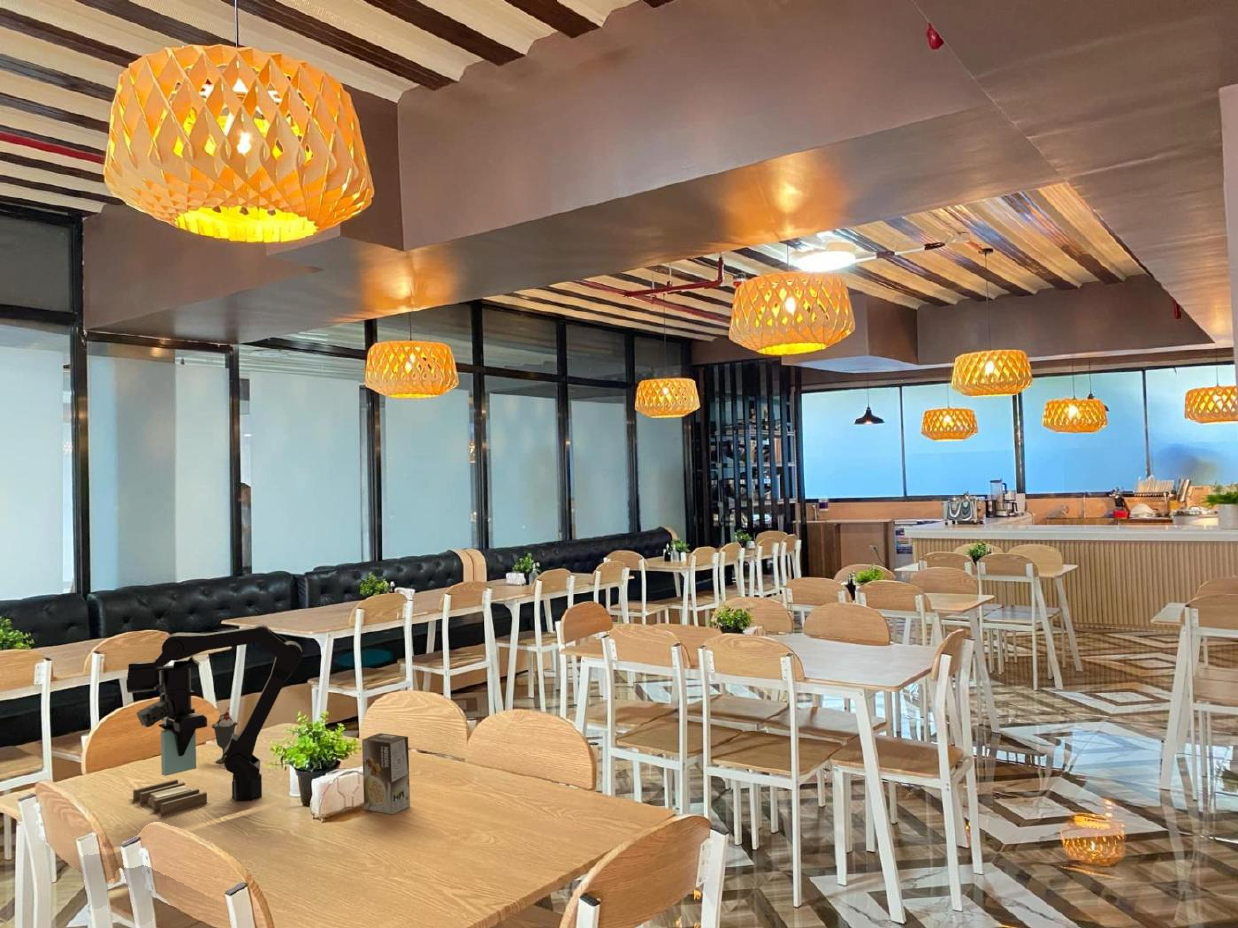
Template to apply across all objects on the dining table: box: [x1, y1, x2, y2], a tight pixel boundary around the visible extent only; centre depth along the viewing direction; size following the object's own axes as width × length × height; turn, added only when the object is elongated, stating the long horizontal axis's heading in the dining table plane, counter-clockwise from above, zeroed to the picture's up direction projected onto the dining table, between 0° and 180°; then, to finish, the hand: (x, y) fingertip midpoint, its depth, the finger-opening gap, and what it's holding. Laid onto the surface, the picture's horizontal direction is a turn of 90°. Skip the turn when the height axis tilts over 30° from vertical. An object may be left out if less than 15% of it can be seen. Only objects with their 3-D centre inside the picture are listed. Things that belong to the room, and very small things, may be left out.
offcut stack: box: [148, 784, 192, 807], centre depth 212 cm, size 5×8×2 cm, turn 139°
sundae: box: [211, 706, 238, 764], centre depth 248 cm, size 7×7×15 cm
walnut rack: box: [129, 778, 212, 819], centre depth 211 cm, size 20×11×4 cm, turn 49°
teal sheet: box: [160, 729, 197, 777], centre depth 208 cm, size 2×7×10 cm, turn 137°
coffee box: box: [361, 732, 411, 815], centre depth 206 cm, size 9×6×16 cm
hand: (179, 754), depth 208 cm, fingers closed on teal sheet, 2 cm apart
